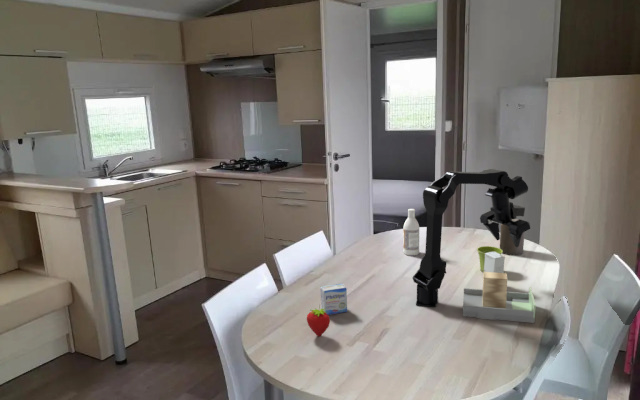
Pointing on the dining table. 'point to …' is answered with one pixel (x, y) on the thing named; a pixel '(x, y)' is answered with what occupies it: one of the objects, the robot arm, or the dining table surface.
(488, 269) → the skincare box
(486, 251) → the plant pot
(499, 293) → the block
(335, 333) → the dining table surface
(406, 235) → the bath foam
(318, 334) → the strawberry
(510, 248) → the pillar candle
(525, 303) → the lane
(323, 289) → the medicine box
